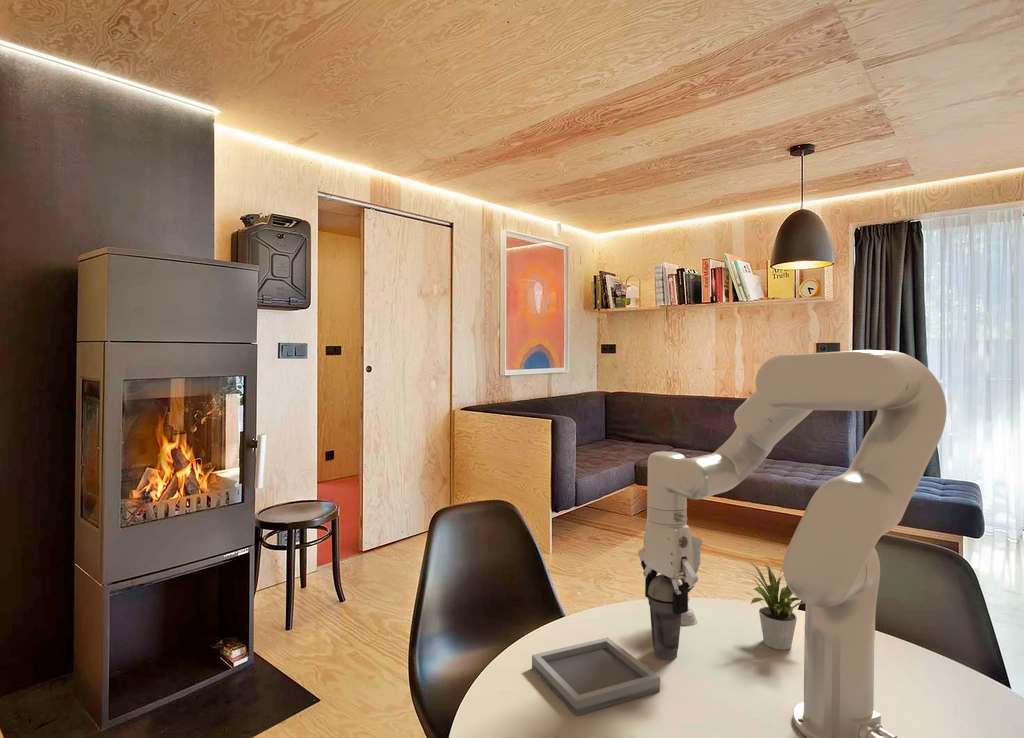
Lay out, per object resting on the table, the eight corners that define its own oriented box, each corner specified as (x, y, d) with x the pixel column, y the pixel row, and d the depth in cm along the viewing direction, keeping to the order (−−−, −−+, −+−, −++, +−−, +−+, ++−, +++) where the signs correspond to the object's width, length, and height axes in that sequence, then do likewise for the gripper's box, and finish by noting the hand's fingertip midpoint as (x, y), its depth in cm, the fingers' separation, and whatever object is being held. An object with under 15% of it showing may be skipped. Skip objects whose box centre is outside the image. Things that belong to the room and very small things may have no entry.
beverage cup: (686, 665, 110) (687, 560, 109) (647, 661, 111) (647, 557, 111) (682, 646, 117) (683, 548, 116) (645, 643, 118) (646, 546, 118)
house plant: (719, 636, 121) (720, 559, 121) (758, 620, 129) (759, 548, 129) (783, 667, 109) (784, 581, 109) (822, 647, 117) (823, 567, 117)
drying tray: (659, 691, 101) (660, 677, 101) (576, 715, 94) (576, 700, 94) (607, 649, 115) (607, 637, 115) (531, 668, 108) (531, 654, 108)
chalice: (663, 615, 131) (664, 536, 131) (689, 611, 133) (689, 533, 133) (682, 629, 124) (682, 546, 124) (708, 625, 126) (709, 543, 126)
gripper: (713, 524, 107) (712, 619, 107) (653, 503, 123) (652, 585, 123) (682, 529, 104) (681, 626, 104) (624, 507, 120) (623, 591, 120)
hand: (665, 603), depth 114 cm, fingers open, 7 cm apart
